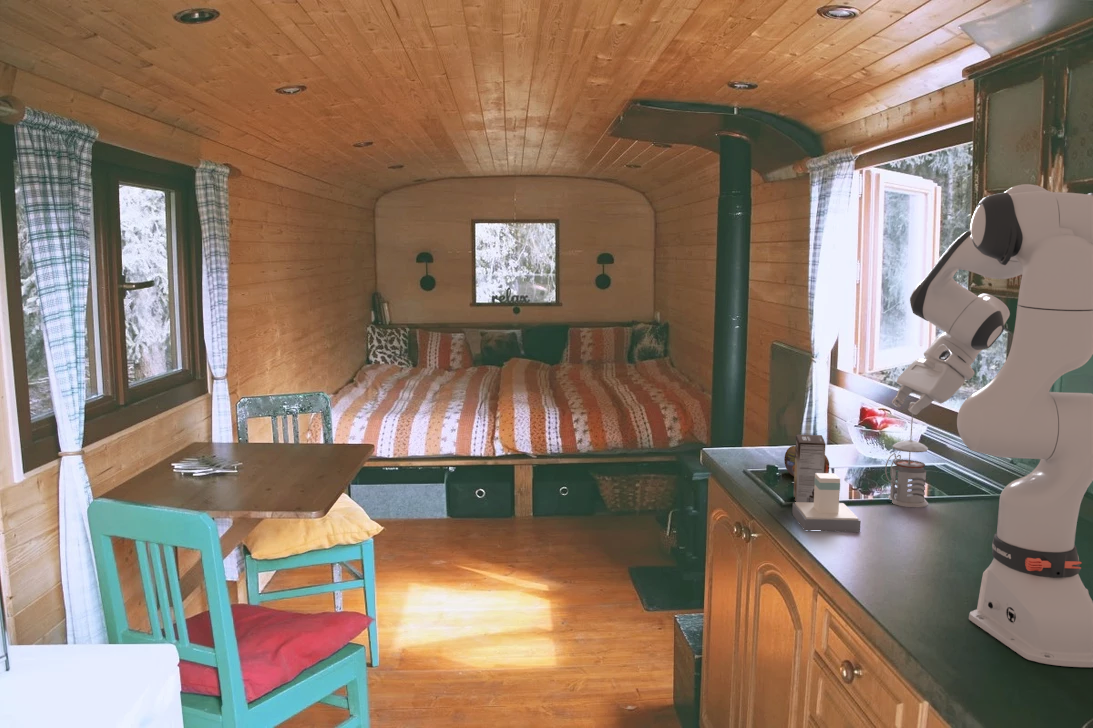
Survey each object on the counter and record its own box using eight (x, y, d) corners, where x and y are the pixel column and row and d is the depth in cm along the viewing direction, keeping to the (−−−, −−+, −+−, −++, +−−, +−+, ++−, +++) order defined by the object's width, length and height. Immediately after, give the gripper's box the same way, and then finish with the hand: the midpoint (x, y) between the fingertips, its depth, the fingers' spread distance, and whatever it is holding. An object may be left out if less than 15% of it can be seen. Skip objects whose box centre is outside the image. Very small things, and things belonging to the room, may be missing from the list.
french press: (937, 504, 203) (944, 404, 200) (901, 509, 199) (907, 407, 196) (906, 493, 212) (913, 397, 209) (871, 498, 208) (876, 400, 205)
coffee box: (792, 495, 210) (795, 433, 208) (818, 497, 209) (822, 434, 207) (795, 506, 201) (798, 441, 199) (823, 508, 200) (826, 443, 198)
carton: (838, 513, 187) (840, 478, 185) (818, 512, 187) (820, 478, 186) (833, 507, 191) (834, 473, 190) (813, 506, 191) (814, 473, 190)
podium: (860, 532, 183) (860, 518, 183) (804, 530, 184) (805, 517, 183) (844, 515, 195) (844, 502, 195) (792, 513, 196) (792, 501, 195)
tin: (782, 472, 233) (784, 442, 232) (791, 471, 234) (793, 441, 233) (821, 486, 219) (823, 454, 218) (830, 484, 221) (832, 453, 219)
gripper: (916, 346, 191) (875, 392, 193) (955, 356, 171) (910, 407, 173) (936, 363, 192) (896, 409, 193) (978, 375, 171) (933, 426, 173)
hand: (903, 408), depth 183 cm, fingers open, 8 cm apart
